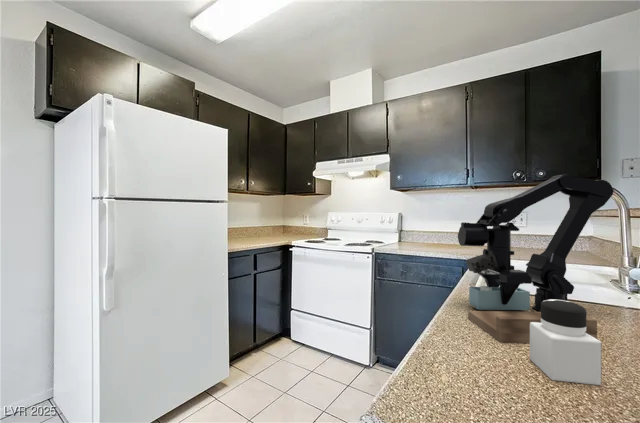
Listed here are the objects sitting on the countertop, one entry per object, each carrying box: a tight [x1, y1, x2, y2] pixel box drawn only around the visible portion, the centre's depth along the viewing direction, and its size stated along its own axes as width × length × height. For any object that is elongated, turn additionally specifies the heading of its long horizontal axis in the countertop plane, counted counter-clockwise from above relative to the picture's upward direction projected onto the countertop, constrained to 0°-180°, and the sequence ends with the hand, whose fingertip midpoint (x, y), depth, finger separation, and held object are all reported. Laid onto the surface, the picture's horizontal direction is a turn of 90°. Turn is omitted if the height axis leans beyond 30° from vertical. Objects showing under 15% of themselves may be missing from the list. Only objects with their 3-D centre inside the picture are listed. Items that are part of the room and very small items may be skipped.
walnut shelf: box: [467, 310, 598, 344], centre depth 68 cm, size 20×14×5 cm
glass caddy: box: [468, 285, 531, 311], centre depth 82 cm, size 14×5×6 cm, turn 89°
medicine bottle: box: [529, 299, 602, 386], centre depth 50 cm, size 7×7×12 cm
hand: (498, 301), depth 82 cm, fingers closed on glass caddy, 5 cm apart
